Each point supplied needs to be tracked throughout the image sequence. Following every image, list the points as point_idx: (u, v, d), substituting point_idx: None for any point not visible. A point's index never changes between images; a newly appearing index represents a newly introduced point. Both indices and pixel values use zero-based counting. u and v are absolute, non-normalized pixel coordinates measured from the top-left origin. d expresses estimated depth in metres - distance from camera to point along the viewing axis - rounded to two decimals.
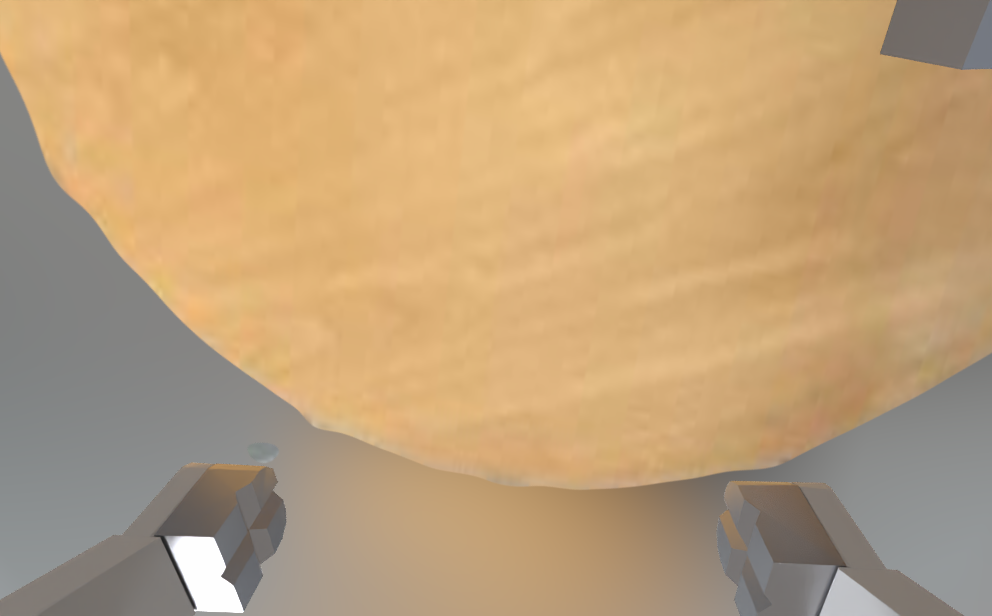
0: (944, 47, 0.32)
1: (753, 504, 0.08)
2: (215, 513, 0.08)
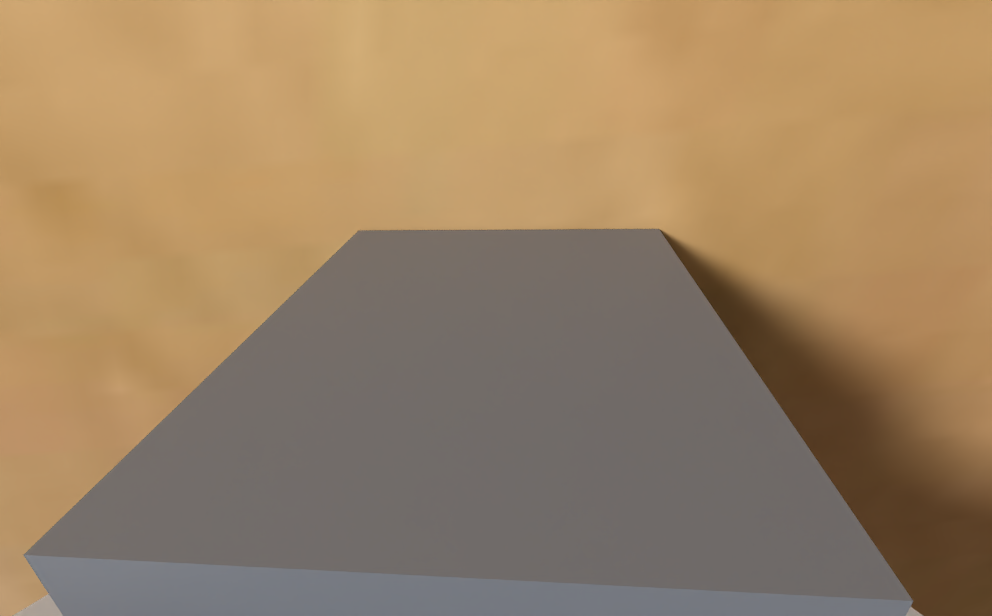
0: (266, 398, 0.06)
1: None
2: None
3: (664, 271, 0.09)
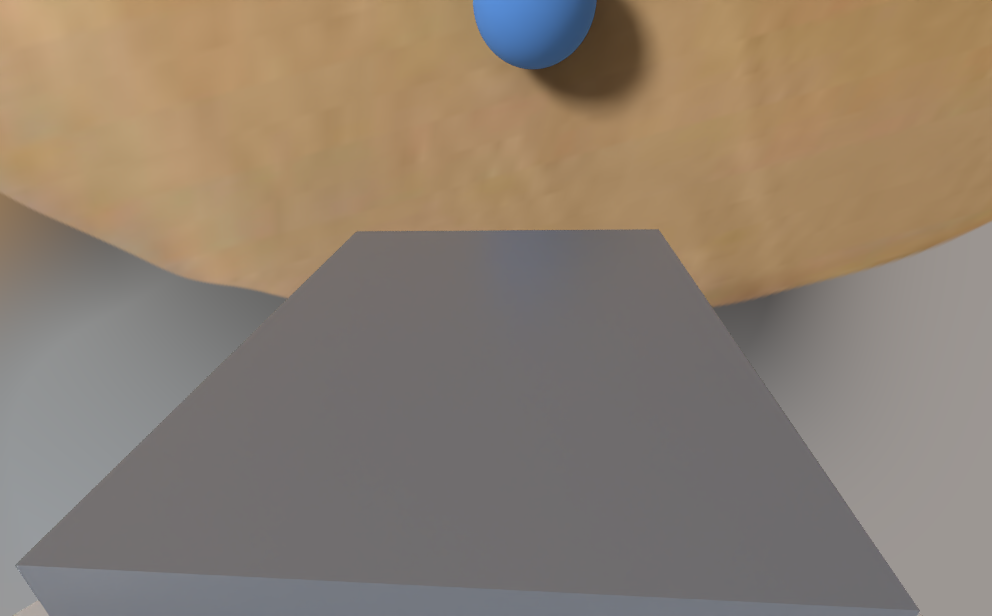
0: (262, 403, 0.06)
1: None
2: None
3: (664, 272, 0.09)
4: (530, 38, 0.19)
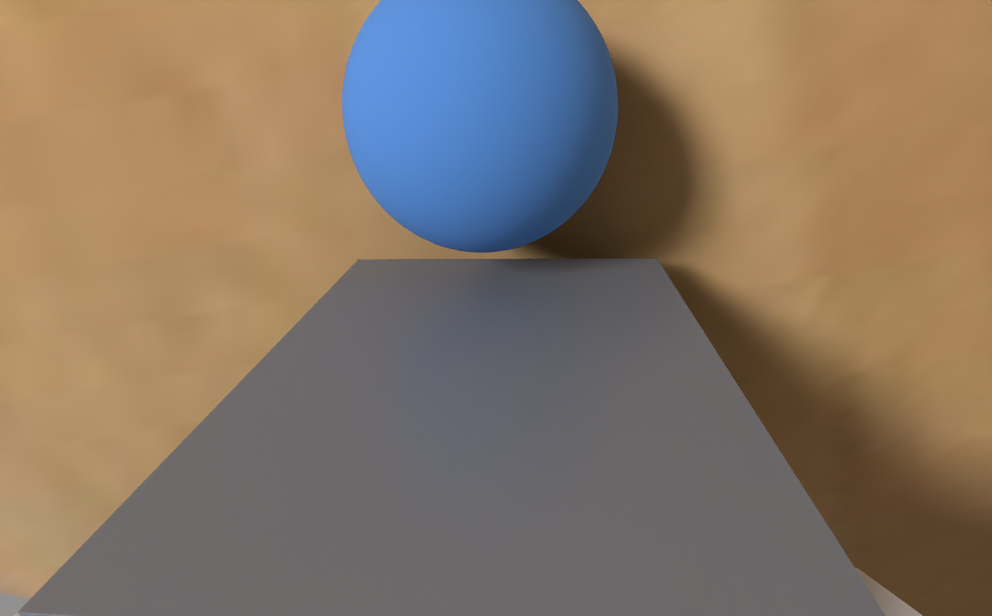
0: (264, 441, 0.06)
1: None
2: None
3: (662, 303, 0.09)
4: None
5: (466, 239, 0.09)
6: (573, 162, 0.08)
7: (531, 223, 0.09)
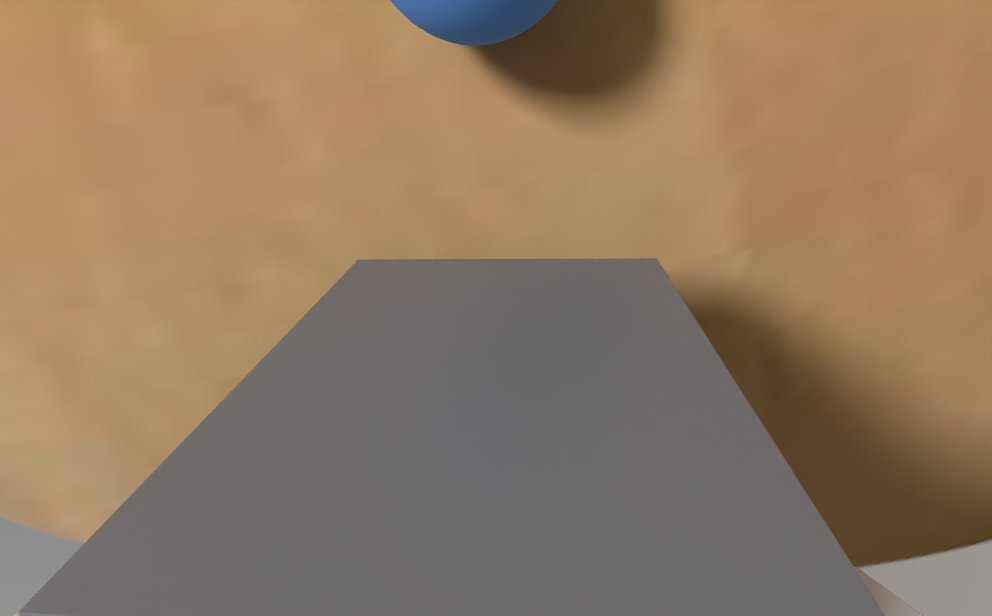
0: (264, 441, 0.06)
1: None
2: None
3: (662, 304, 0.09)
4: None
5: None
6: None
7: None
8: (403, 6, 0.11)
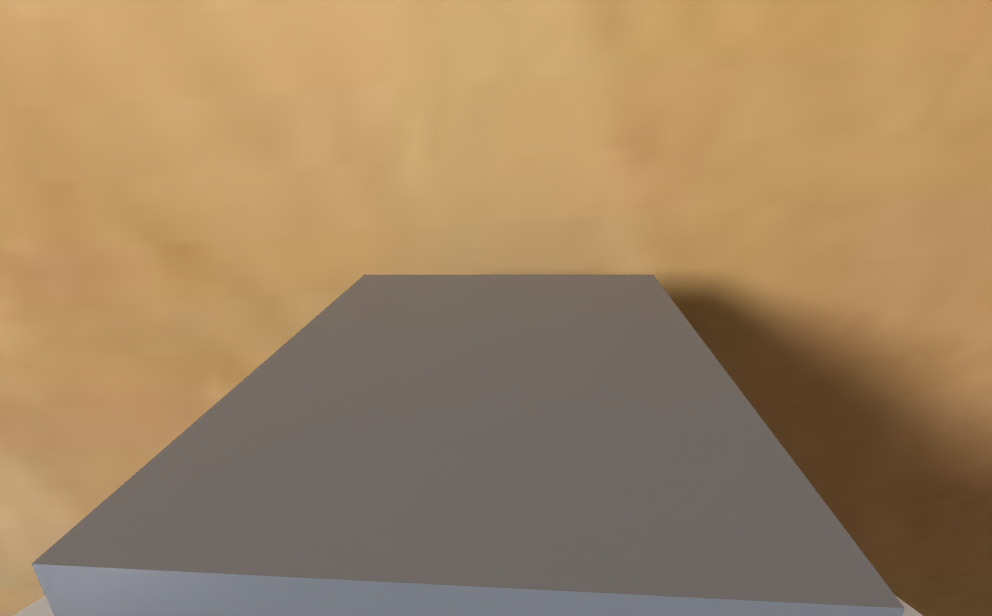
0: (272, 423, 0.06)
1: None
2: None
3: (658, 312, 0.10)
4: None
5: None
6: None
7: None
8: None
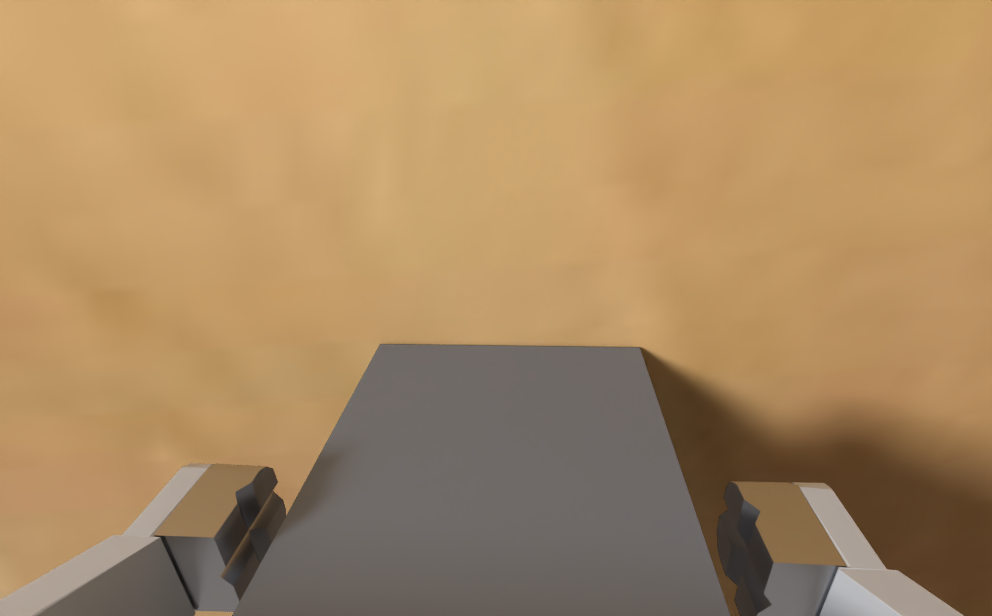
0: (325, 559, 0.08)
1: (753, 504, 0.08)
2: (215, 513, 0.08)
3: (640, 406, 0.11)
4: None
5: None
6: None
7: None
8: None
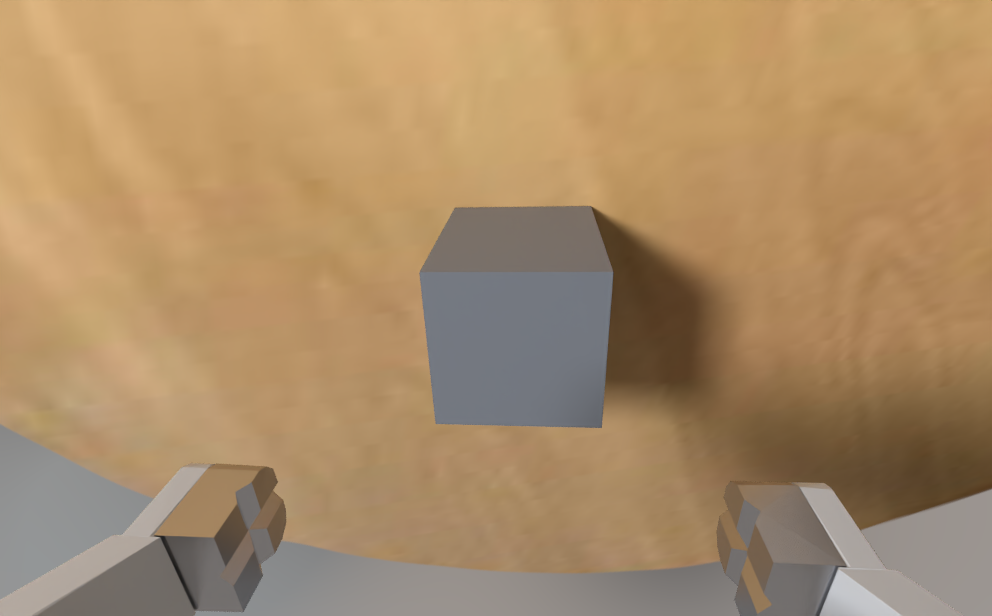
0: (455, 251, 0.20)
1: (753, 504, 0.08)
2: (215, 513, 0.08)
3: (586, 220, 0.24)
4: None
5: None
6: None
7: None
8: None
